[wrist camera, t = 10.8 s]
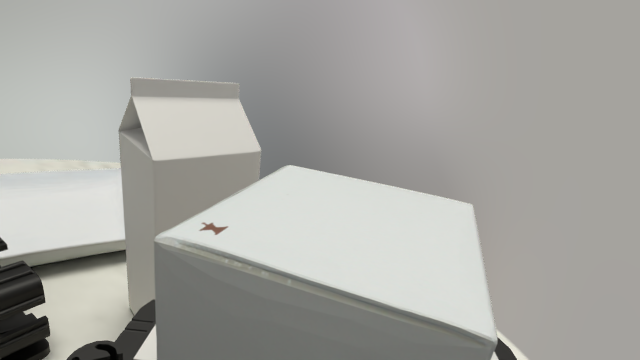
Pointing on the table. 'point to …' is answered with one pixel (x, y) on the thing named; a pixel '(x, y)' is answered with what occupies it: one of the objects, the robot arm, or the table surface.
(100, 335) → the table surface
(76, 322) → the table surface
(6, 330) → the end cap
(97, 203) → the salad plate
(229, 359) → the supplement box
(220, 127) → the milk carton
